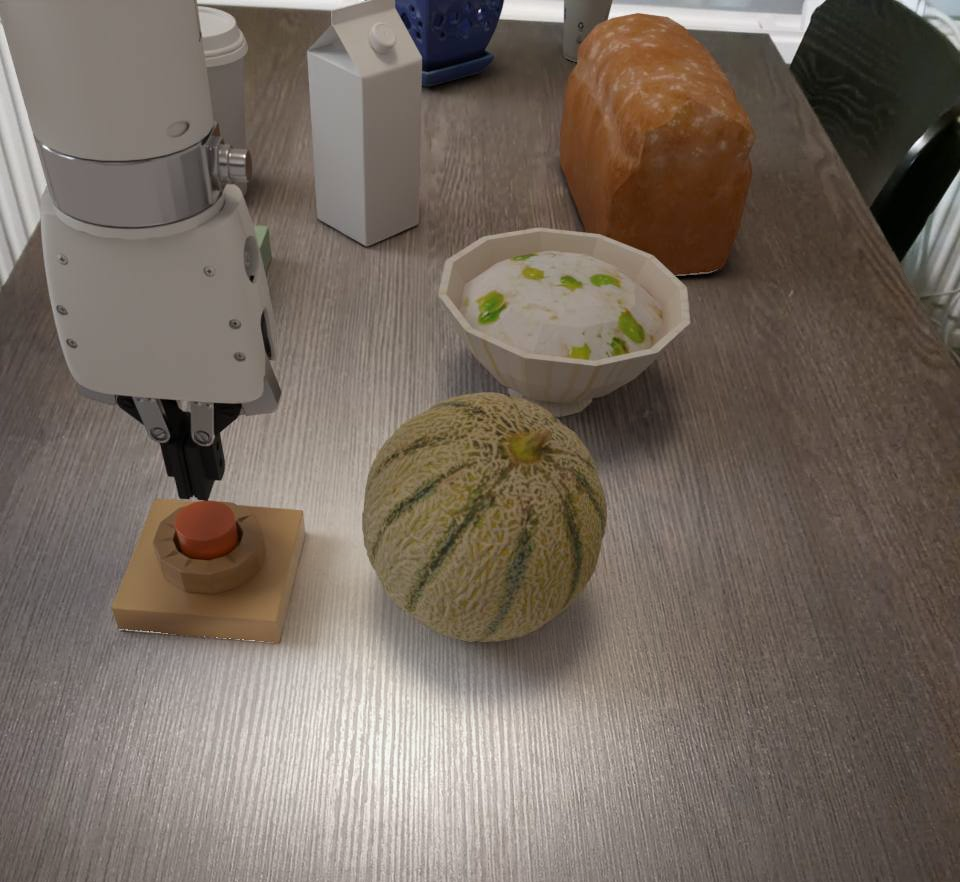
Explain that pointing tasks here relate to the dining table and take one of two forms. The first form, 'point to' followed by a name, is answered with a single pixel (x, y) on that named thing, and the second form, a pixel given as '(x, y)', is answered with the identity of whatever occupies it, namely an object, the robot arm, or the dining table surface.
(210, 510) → the bell button
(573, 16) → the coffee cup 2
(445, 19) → the flower pot
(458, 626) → the cantaloupe
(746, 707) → the dining table surface
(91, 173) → the robot arm
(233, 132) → the coffee cup
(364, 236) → the milk carton
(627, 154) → the bread
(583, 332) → the bowl
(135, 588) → the tan square stand
